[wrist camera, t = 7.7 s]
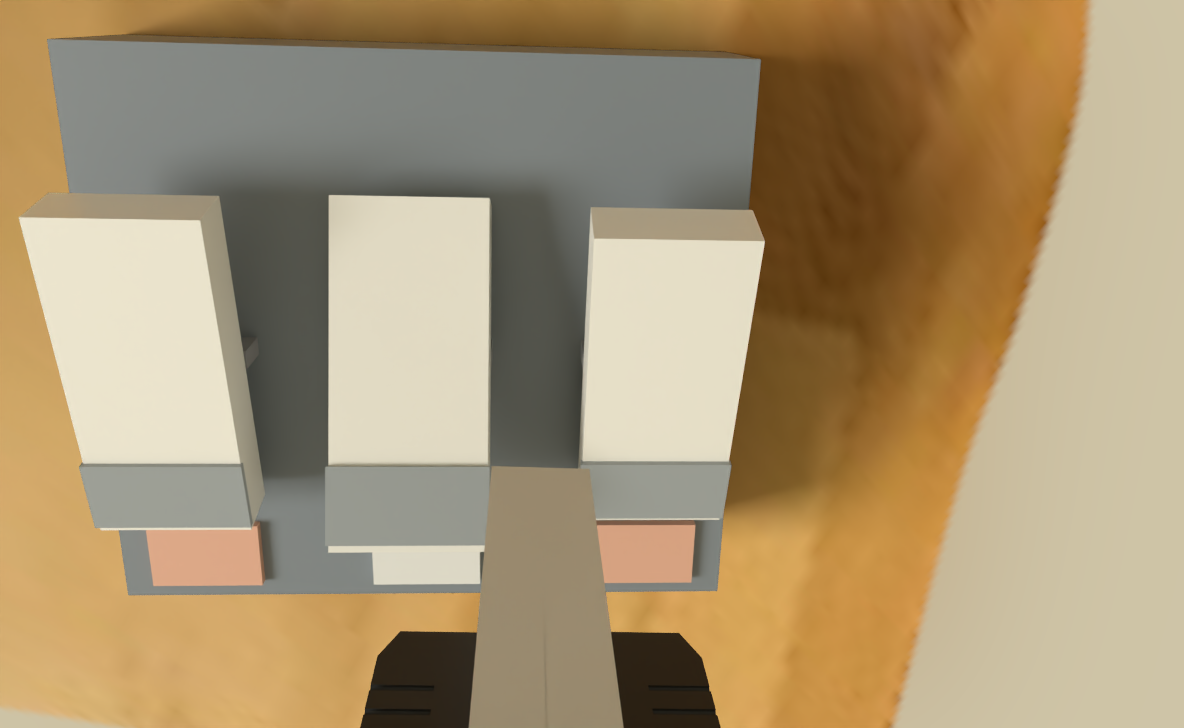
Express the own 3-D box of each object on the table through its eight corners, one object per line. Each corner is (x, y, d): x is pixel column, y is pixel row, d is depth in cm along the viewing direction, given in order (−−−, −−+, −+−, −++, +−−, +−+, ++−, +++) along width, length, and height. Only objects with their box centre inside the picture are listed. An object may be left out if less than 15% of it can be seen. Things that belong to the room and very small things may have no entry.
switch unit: (124, 34, 29) (24, 40, 24) (725, 51, 31) (771, 61, 25) (183, 522, 35) (113, 625, 29) (692, 520, 36) (723, 619, 30)
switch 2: (338, 202, 26) (325, 194, 25) (493, 205, 27) (491, 197, 25) (338, 539, 27) (325, 554, 25) (491, 538, 27) (488, 553, 25)
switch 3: (588, 207, 24) (592, 241, 23) (755, 209, 24) (768, 244, 23) (575, 482, 29) (578, 523, 28) (712, 481, 30) (721, 523, 28)
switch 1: (46, 192, 24) (13, 219, 22) (221, 195, 24) (200, 222, 23) (120, 494, 28) (96, 534, 27) (266, 493, 29) (252, 533, 27)
